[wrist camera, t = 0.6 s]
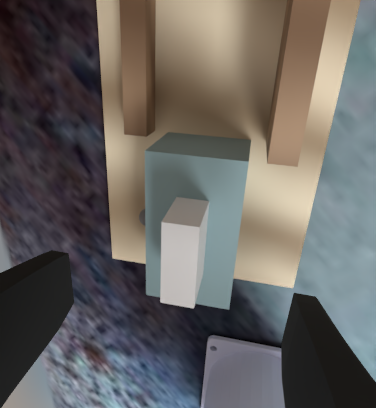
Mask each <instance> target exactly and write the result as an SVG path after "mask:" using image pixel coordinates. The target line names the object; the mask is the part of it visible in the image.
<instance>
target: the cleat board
mask: <svg viewBox="0 0 376 408" xmlns="http://www.w3.org/2000/svg"><path fill="white" fill-rule="evenodd" d="M96 2H97V18H98V34H99V50H100V66H101V82H102V98H103V114H104V130H105V146H106V163H107V179H108V195H109V211H110V227H111V243H112V258H113V259H119V260H125V261H131V262H137V263H143V264H146V235H145V226H144V225H143V224H141V222H140V220H139V214H140V212H141V211H142V210H143V209H145V150H146V149H148V148H149V147H150V146H151V145H153V144H154V143H155V142H156V141H158V140H159V139H160V138H161V137H163V136H164V135H165V134H166V133H168V132H173V133H183V134H194V135H205V136H215V137H226V138H237V139H247V140H251V146H250V155H249V164H248V171H247V179H246V186H245V194H244V201H243V209H242V216H241V224H240V231H239V239H238V247H237V254H236V262H235V269H234V277H233V278H234V279H240V280H246V281H252V282H258V283H264V284H270V285H276V286H282V287H288V288H293V286H294V282H295V278H296V274H297V269H298V265H299V261H300V256H301V252H302V248H303V244H304V239H305V235H306V231H307V227H308V222H309V218H310V214H311V210H312V205H313V201H314V197H315V192H316V188H317V184H318V180H319V175H320V171H321V167H322V163H323V158H324V154H325V150H326V146H327V141H328V137H329V133H330V128H331V124H332V120H333V116H334V111H335V107H336V103H337V99H338V94H339V90H340V86H341V82H342V77H343V73H344V69H345V64H346V60H347V56H348V52H349V47H350V43H351V39H352V35H353V30H354V26H355V22H356V18H357V13H358V9H359V5H360V0H96Z"/></svg>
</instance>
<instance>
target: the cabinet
mask: <svg viewBox="0 0 376 408" xmlns="http://www.w3.org/2000/svg"><path fill="white" fill-rule="evenodd" d="M250 146H251V140H247V139H237V138H226V137H215V136H205V135H194V134H183V133H173V132H168V133H166V134H165V135H164V136H163V137H161V138H160V139H159V140H158V141H156V142H155V143H154V144H153V145H151V146H150V147H149V148H148V149H146V150H145V209H143V210H142V211H141V212H140V214H139V220H140V222H141V224H143V225H144V226H145V235H146V295H150V296H155V297H160V303H166V304H171V305H177V306H182V307H188V308H193V309H194V306H195V304H199V305H205V306H210V307H216V308H221V309H227V310H229V307H230V299H231V292H232V284H233V277H234V269H235V262H236V254H237V247H238V239H239V231H240V224H241V216H242V209H243V201H244V194H245V186H246V179H247V171H248V164H249V155H250Z"/></svg>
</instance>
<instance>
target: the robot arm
mask: <svg viewBox="0 0 376 408" xmlns="http://www.w3.org/2000/svg"><path fill="white" fill-rule="evenodd" d="M73 303H74V297H73V289H72V280H71V272H70V263H69V255H68V253H63V252H58V251H49V252H46V253H44V254H41V255H39V256H37V257H34V258H32V259H30V260H28V261H26V262H23V263H21V264H19V265H17V266H15V267H13V268H10V269H8V270H6V271H4V272H2V273H0V408H1V407H2V406H3V404H4V403H5V402H6V400H7V399H8V397H9V396H10V394H11V393H12V392H13V390H14V389H15V388H16V386H17V385H18V384H19V382H20V381H21V380H22V378H23V377H24V376H25V374H26V373H27V372H28V370H29V369H30V368H31V366H32V365H33V364H34V362H35V361H36V360H37V358H38V357H39V356H40V354H41V353H42V352H43V350H44V349H45V348H46V346H47V345H48V344H49V342H50V341H51V339H52V338H53V337H54V335H55V334H56V333H57V331H58V330H59V328H60V326H61V325H62V323H63V321H64V320H65V318H66V316H67V314H68V312H69V311H70V309H71V307H72V305H73ZM213 346H215V347H213ZM201 408H376V382H375V381H374V380H373V378H372V377H371V376H370V374H369V373H368V372H367V370H366V369H365V368H364V366H363V365H362V364H361V362H360V361H359V359H358V358H357V357H356V355H355V354H354V353H353V351H352V350H351V348H350V347H349V346H348V344H347V343H346V341H345V340H344V338H343V337H342V335H341V334H340V333H339V331H338V330H337V328H336V327H335V325H334V324H333V322H332V321H331V319H330V317H329V316H328V314H327V313H326V311H325V310H324V308H323V307H322V305H321V304H320V302H319V301H318V299H317V298H316V297H314V296H309V295H303V294H297V293H294V295H293V299H292V303H291V307H290V311H289V315H288V319H287V323H286V327H285V331H284V335H283V339H282V343H281V348H277V347H272V346H267V345H262V344H257V343H252V342H247V341H242V340H236V339H231V338H226V337H221V336H216V335H211V336H209V337H208V341H207V351H206V360H205V370H204V380H203V390H202V400H201Z"/></svg>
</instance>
